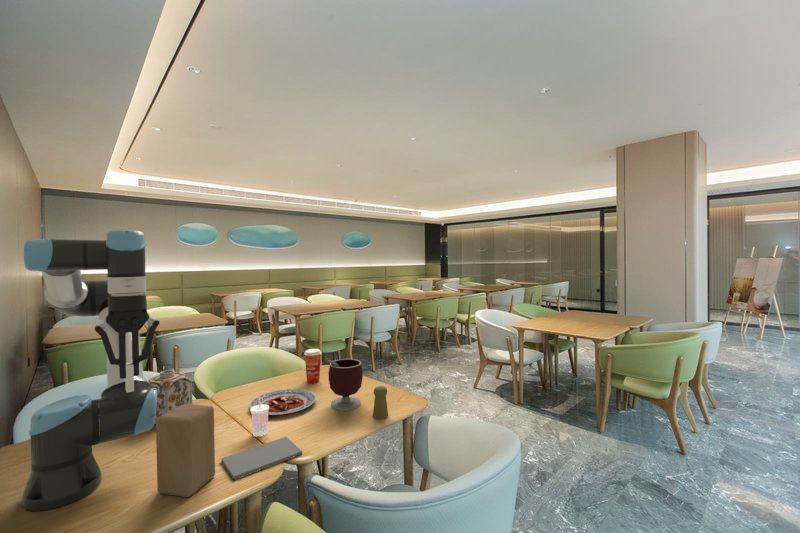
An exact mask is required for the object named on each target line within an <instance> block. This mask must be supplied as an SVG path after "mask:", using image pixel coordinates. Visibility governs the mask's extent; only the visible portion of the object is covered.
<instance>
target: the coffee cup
mask: <svg viewBox="0 0 800 533" xmlns="http://www.w3.org/2000/svg"><path fill="white" fill-rule="evenodd" d="M303 354H304V360H305V374H306V382H307V383H309V384H314V383H316V384H317V383H319V382H320V378H321V374H320V373H321V359H322V358H321V355H322V351H321V350H320V348H309V349H306V350H305V351H304V353H303Z"/></svg>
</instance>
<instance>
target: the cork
mask: <svg viewBox="0 0 800 533" xmlns="http://www.w3.org/2000/svg"><path fill="white" fill-rule="evenodd" d="M387 394H388V389H387V387H386V386H384V385H377V386H375V387H374V388H373V395H374V405H373V411H372V417H373V418H374V419H376V418H377V419H376V420H383V419H382V418H384V419H386V418H385V417H387V416H388V417H389V411H388V402H387ZM388 417H387V418H388Z"/></svg>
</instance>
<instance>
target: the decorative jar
mask: <svg viewBox="0 0 800 533" xmlns="http://www.w3.org/2000/svg"><path fill="white" fill-rule="evenodd" d="M147 381H148V382H149V383H150V387H151V388H156V389H157V408H156V418H155V424H156V419H157V418H158V417H160V416H162V415H163V414H165V413H167V412H169V411H171V410H173V409H175V408H177V407H179V406H181V405H183V404H192V405H193V384H192V382H193V381H192V379H191V378H190V377H189V376H187V374H185V373H184V372H183V373H182V372H178V371H177V372H176V371H175V370H174V369H167V370H162V371H160V373H159V374H157V375H155V376H153V377H151V378H150V379H148V380H147Z"/></svg>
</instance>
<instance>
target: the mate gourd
mask: <svg viewBox="0 0 800 533" xmlns="http://www.w3.org/2000/svg"><path fill="white" fill-rule="evenodd" d="M326 362H327V363H329V367H328V385H329V388H330V390H331V391H332V392H333V393H334V394H335V395H337V396H341V397H339V398H335V399H334V400H331V402H330V407H331V408H332V409H333V410H336V411H352V410H355V409H358V408H359V407H360V406H361V404H362V401H361V399H359V398H357V397H352V395H355V394H357V393H358V392H359V390H360V389H361V387H362V383H363V376H364V375H363V373H364V372H363V371H364V370H363V365H362V361H361V360H359V359H355V358H354V359H353V358H342V359H335V360H330V359H327V360H326Z"/></svg>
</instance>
